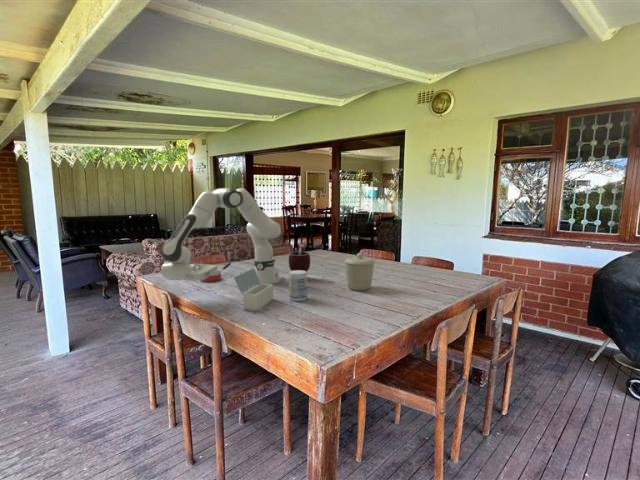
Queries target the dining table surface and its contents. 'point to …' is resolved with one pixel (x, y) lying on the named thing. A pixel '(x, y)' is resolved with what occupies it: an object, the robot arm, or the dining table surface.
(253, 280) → the cover
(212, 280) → the frying pan
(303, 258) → the brown utensil pot
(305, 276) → the supplement tub
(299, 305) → the dining table surface
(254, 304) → the beige open box
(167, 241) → the robot arm
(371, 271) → the canister
